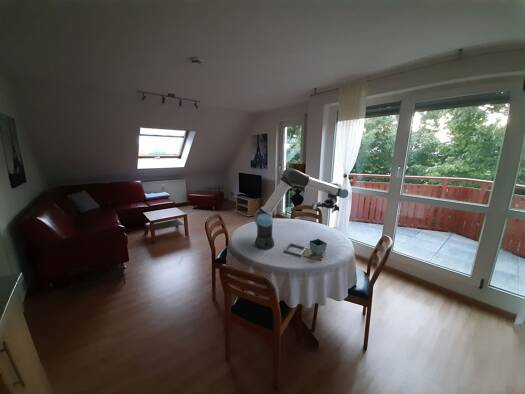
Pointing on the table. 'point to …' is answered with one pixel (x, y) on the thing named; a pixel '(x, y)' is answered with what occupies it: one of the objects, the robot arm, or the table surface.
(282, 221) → the table surface
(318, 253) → the flower pot
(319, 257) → the walnut board
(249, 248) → the table surface
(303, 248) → the metal collar
